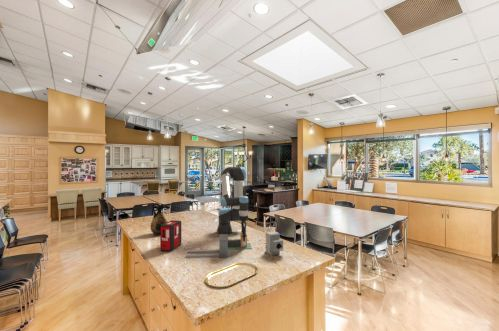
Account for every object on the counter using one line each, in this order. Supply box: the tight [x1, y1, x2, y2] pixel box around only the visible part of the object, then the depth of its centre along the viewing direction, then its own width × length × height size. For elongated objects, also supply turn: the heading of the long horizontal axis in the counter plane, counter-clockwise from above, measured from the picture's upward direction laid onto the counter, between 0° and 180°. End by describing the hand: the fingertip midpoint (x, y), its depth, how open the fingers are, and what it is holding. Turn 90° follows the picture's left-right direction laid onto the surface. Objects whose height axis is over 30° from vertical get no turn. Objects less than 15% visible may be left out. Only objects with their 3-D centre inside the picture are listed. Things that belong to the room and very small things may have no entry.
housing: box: [185, 234, 229, 259], centre depth 170 cm, size 15×30×12 cm, turn 96°
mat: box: [228, 242, 253, 251], centre depth 186 cm, size 12×20×1 cm, turn 96°
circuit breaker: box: [264, 230, 284, 256], centre depth 171 cm, size 8×14×15 cm, turn 27°
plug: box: [228, 232, 250, 247], centre depth 186 cm, size 5×20×10 cm, turn 96°
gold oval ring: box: [204, 262, 259, 289], centre depth 138 cm, size 19×35×2 cm, turn 133°
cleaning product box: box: [159, 220, 182, 253], centre depth 183 cm, size 16×9×20 cm, turn 170°
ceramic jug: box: [149, 202, 168, 236], centre depth 219 cm, size 17×15×30 cm
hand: (243, 243), depth 187 cm, fingers open, 7 cm apart
